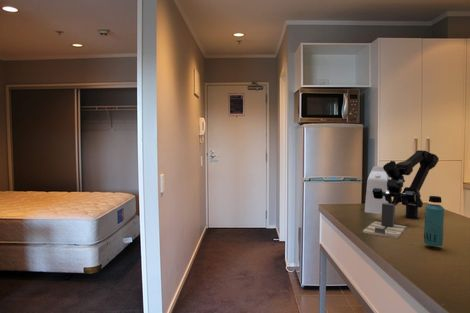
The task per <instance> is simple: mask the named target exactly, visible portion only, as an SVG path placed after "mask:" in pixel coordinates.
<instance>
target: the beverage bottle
mask: <svg viewBox="0 0 470 313" xmlns="http://www.w3.org/2000/svg"><path fill="white" fill-rule="evenodd" d="M428 202H430V203H429V204H427V205H426V206H425V209H424V210H425V212H424V227H423V228H424V229H423V232H424V233H423V242H424V244H425V245H427V246H431V247H437V248H438V247H439V248H440V247H443V245H444V222H445V221H444V218H445V208H444V207H443V206H442V205H441V203H442V197H441V196H439V195H429V197H428ZM433 203H434V204H433ZM435 203H436V204H435Z"/></svg>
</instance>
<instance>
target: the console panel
mask: <svg viewBox="0 0 470 313" xmlns="http://www.w3.org/2000/svg"><path fill="white" fill-rule="evenodd" d="M406 229H407V226H406V225H400V224H394V226H393V227H389V226H382V225H381V221H373V222H372V223H371V224H369V225H368V226H367V227H365V228H364V229H363V230H362V233H364V234H369V235H373V236H379V237H386V238H391V239H395V240H396V239H399V238H400V236H402V234H403V233H404V232H405V231H406Z"/></svg>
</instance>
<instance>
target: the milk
mask: <svg viewBox="0 0 470 313" xmlns="http://www.w3.org/2000/svg"><path fill="white" fill-rule="evenodd" d="M371 168H372V169H371V171H370V172H369V175H368V177H367V181H366V190H365V191H366V192H365V201H364V202H365V204H364V213H369V214H376V215H382V204H383V203H388V201H386V200H385V196H383V198H382V199H375V198H374V196H373V192H372V191H373V189H374V188H380V189H382V192H385V191H388V190H387V180H391V178H390V177H388V175H387V174H386V172H385V171H384V169H383V166H379V165H378V166H376V165H375V166H374V165H373V167H371ZM388 204H389V203H388Z"/></svg>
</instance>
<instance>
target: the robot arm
mask: <svg viewBox="0 0 470 313" xmlns="http://www.w3.org/2000/svg"><path fill="white" fill-rule="evenodd" d="M438 163H439V157H438V156H437V154H434V153H431V152H429V151H427V150H420V149H418V150H415V152H414V153H413V154H412V155H411V156H410V157H408V158H407V159H405V160H403V161H400V162H399V161H398V162H397V163H396V161H395V160H390V162H387V163H386V164H384V165H382V167H383V169H384V171H385V172H386V174H387V175H388V177H389V178H390V180H387V190H388V191H385V192H382V189H380V188H374V189H373V191H372V192H373V196H374V198H375V199H382V198H383V196H385V200H386V201H388V203H389V204H395V207H396V206H397V205H398V204H400V203H401V205H402V206H405V214H404V218H407V219H415V220H419V219H420V217H419V215H418V214H419V208H420V209H421V208H423V206H424V205H423V204H424V202H423V201H422V199H421V197H422V196H421V192H420V191H421V189H422V187H423V185H424V182H425V181H426V178H427V176H428V175H429V172H430V170H432V169H433V168H435V167H436V166H437V164H438ZM418 164H419V167H418V169H417V172H416V173H415V175H414V178H413V179H412V182H411V184H410V185H409V187H407V186H405V187H404V183H405V182H406V179H405V176H410V175H411V174H412V173H413V171H414V168H415V166H417V165H418ZM403 187H404V188H403Z"/></svg>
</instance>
